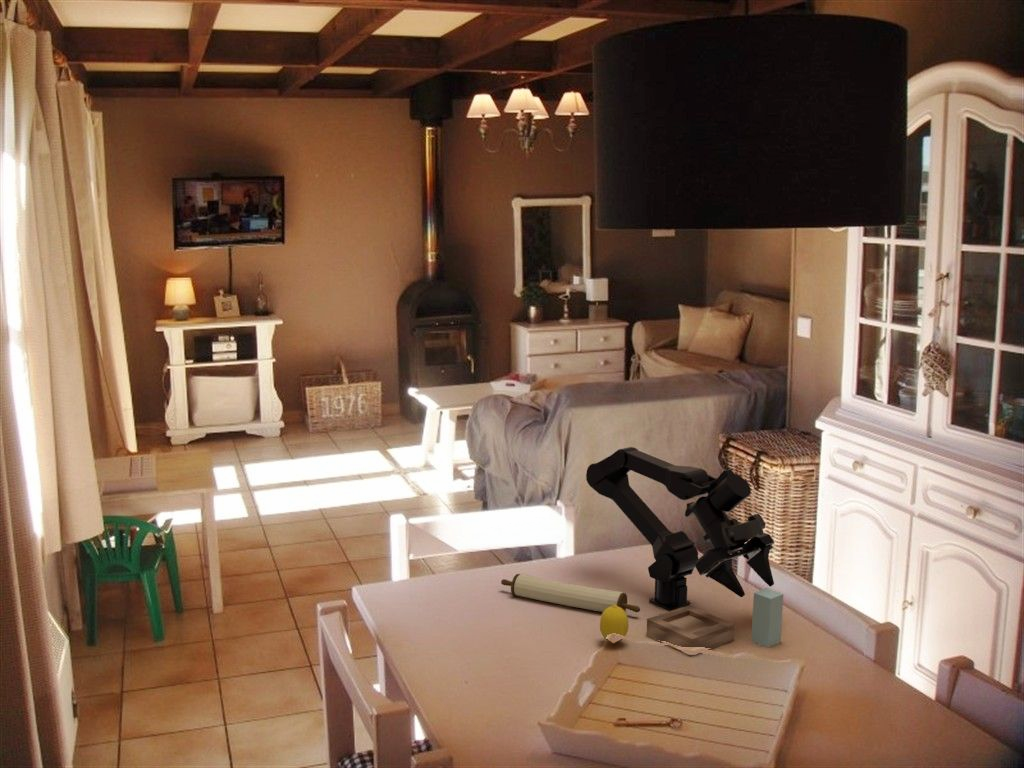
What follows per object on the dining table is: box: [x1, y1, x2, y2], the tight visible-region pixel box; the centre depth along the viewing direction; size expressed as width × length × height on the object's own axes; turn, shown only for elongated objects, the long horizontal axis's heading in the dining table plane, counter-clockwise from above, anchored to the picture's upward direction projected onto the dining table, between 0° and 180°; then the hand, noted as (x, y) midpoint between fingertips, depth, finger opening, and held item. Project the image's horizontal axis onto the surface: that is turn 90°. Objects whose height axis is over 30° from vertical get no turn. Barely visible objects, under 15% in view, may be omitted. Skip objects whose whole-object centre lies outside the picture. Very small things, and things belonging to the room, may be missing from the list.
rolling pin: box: [500, 573, 641, 613], centre depth 221 cm, size 32×6×5 cm, turn 64°
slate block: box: [750, 587, 784, 648], centre depth 203 cm, size 4×4×10 cm
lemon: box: [599, 605, 630, 640], centre depth 202 cm, size 6×6×8 cm
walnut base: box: [646, 604, 735, 650], centre depth 205 cm, size 12×12×4 cm
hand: (758, 590), depth 204 cm, fingers open, 9 cm apart
